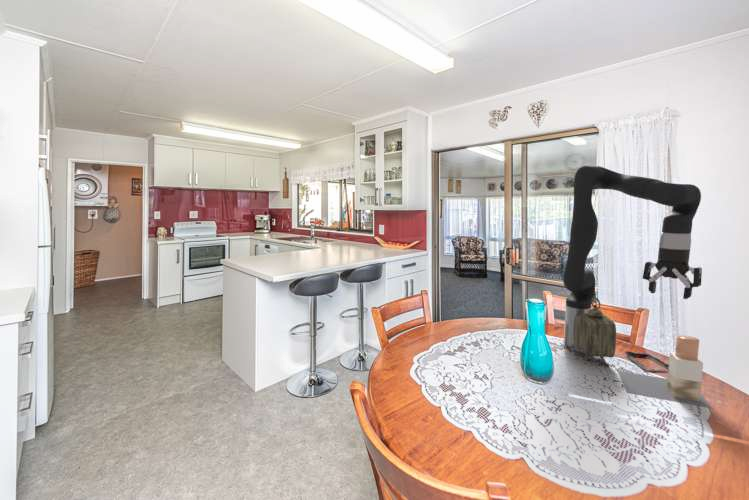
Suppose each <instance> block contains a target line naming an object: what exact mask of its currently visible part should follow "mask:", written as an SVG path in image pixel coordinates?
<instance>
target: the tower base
mask: <svg viewBox="0 0 749 500" xmlns="http://www.w3.org/2000/svg"><path fill="white" fill-rule="evenodd" d="M667 370H668V372H667V379H668V383H667V388H668V389H669V391H670V392H671V394H672V395H673V397H678V398H683V399H689V400H694V401H700V393H701V392H702V391H701V390H702V381H701V382H697V381H690V380H684V379H678V378H675V377H674V376H673V375H672V374H671V372H670V371H669V369H667ZM701 394H702V393H701Z"/></svg>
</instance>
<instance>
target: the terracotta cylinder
mask: <svg viewBox="0 0 749 500" xmlns="http://www.w3.org/2000/svg"><path fill="white" fill-rule="evenodd" d="M675 342H676V343H675V351H674V352H675V356H677V357H678V358H681V359H685V360H690V361H696V360H698V358H699V347H700V339H699V338H696V337H693V336H690V335H683V334H681V335H679V334H678V335H676V341H675Z"/></svg>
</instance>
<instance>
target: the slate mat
mask: <svg viewBox="0 0 749 500" xmlns="http://www.w3.org/2000/svg"><path fill="white" fill-rule="evenodd" d="M617 373H618V375H619V377H620V381H621V382H622V384H623V387H624V389H625V392H626V394H627V393H628V394H632V395H638V396H643V397H649V398H655V399H659V400H665V401H671V402H676V403H681V404H687V405H691V406H697V407H704V408H707V409H714V407H713V406H712V405H711V404H710V403H709V401H708V399H706V397H704V396H703V394H702V393H700V401H694V400H689V399H683V398H678V397H673V395H672V394H671V392H670V391H669V389H668V388H667V383H668V378H664V377H658V376H653V375H646V374H639V373H633V372H627V371H622V370H617Z"/></svg>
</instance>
